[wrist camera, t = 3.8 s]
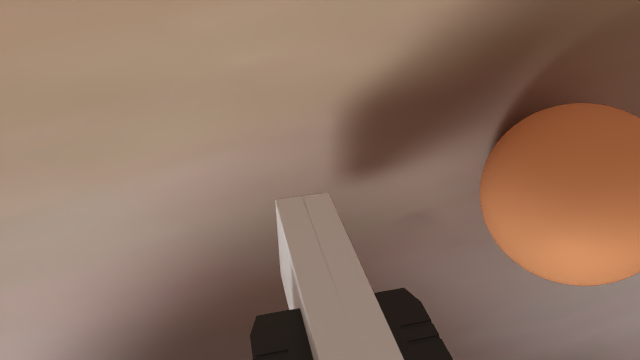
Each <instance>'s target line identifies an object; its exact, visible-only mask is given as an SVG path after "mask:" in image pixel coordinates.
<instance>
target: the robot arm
mask: <svg viewBox="0 0 640 360" xmlns="http://www.w3.org/2000/svg"><path fill="white" fill-rule="evenodd" d="M275 203H276V216H277V230H278V244H279V257H280V271H281V277H282V282H283V286H284V290H285V294H286V298H287V303H288V307H289V310H286V311H281V312H275V313H270V314H264V315H259V316H257V317H256V319H255V322H254V325H253V328H252V331H251V334H250V340H251V347H252V355H253V360H453V359H452V357H451V355H450V353H449V352H448V350H447V348H446V346H445V344H444V343H443V341H442V339H440V337H439V334H438V332H437V330H436V328H435V327H434V325H433V324H432V323H431V319H430V318H429V316H428V314H427V312H426V310H425V309H424V307H423V305H422V303H421V302H420V301H419V300H418V299H417V298H416V297H414V296H413V295H412V294H411V293H410V292H408V291H407V290H406V289H405V288H400V289H395V290H389V291H384V292H378V293H374V292H373V290H372V288H371V286H370V284H369V281H368V279H367V277H366V275H365V273H364V270H363V268H362V266H361V264H360V262H359V259H358V257H357V255H356V253H355V250H354V248H353V246H352V244H351V242H350V239H349V237H348V235H347V233H346V231H345V228H344V226H343V224H342V222H341V220H340V217H339V215H338V213H337V211H336V209H335V206H334V204H333V202H332V200H331V198H330V195H329V193H321V194H313V195H306V196H299V197H292V198H284V199H277V200H275Z"/></svg>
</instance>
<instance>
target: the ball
mask: <svg viewBox="0 0 640 360" xmlns="http://www.w3.org/2000/svg"><path fill="white" fill-rule="evenodd" d="M480 203H481V209H482V214H483V217H484V220H485V223H486V225H487V228H488V230H489V232H490V234H491V235H492V237H493V238H494V240H495V242H496V243H497V244H498V246H499V247H500V248H501V249H502V250H503V251H504V252H505V253H506V254H507V255H508V256H509V257H510V258H511V259H512V260H513V261H514V262H516V263H517V264H519V265H520V266H521V267H523V268H524V269H526V270H527V271H529V272H531V273H533V274H535V275H537V276H540V277H542V278H544V279H547V280H550V281H554V282H558V283H562V284H568V285H576V286H595V285H601V284H608V283H613V282H617V281H620V280H623V279H625V278H628V277H631V276H633V275H635V274H637V273H639V272H640V118H639V117H637V116H635V115H633V114H631V113H629V112H626V111H624V110H621V109H618V108H614V107H611V106H606V105H602V104H593V103H571V104H563V105H558V106H554V107H550V108H547V109H544V110H541V111H538V112H536V113H534V114H532V115H530V116H528V117H526V118H525V119H523V120H521V121H520V122H519V123H517V124H516V125H514V126H513V127H512V128H511V129H510V130H508V131H507V132H506V133H505V134H504V135H503V136H502V137H501V139H500V140H499V141H498V142H497V144H496V145H495V147H494V148H493V150H492V151H491V153H490V155H489V157H488V159H487V161H486V163H485V166H484V169H483V173H482V177H481V184H480Z"/></svg>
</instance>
